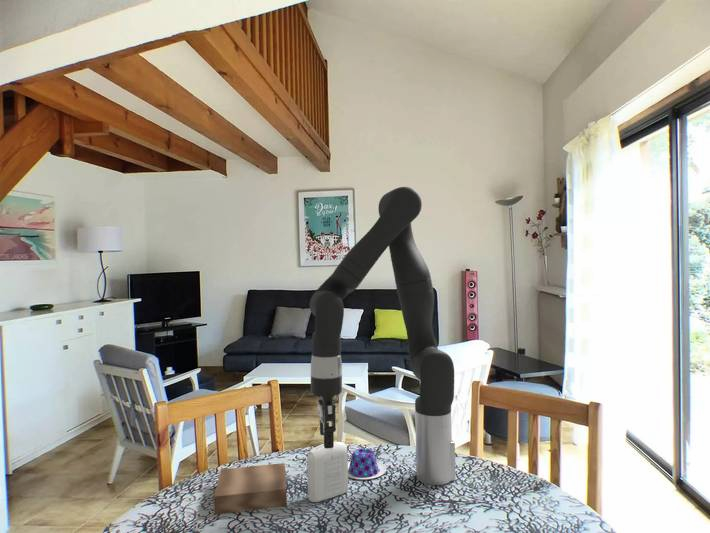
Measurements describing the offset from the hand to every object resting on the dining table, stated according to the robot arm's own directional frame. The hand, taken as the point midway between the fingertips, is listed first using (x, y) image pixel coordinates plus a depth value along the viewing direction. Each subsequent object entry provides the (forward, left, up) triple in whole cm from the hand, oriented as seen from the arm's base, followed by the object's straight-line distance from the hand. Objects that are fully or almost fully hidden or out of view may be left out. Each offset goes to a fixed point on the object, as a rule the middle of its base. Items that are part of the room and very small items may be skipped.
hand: (326, 440), depth 107 cm
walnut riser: (+18, -4, -13) cm, 22 cm away
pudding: (-11, -11, -14) cm, 21 cm away
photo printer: (0, 0, -13) cm, 13 cm away
